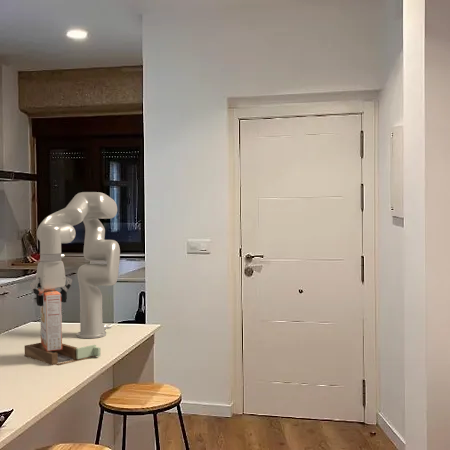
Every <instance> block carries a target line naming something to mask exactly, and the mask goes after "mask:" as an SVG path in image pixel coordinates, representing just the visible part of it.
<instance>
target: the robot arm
mask: <svg viewBox="0 0 450 450" xmlns="http://www.w3.org/2000/svg"><path fill="white" fill-rule="evenodd" d="M117 214H118V205H117V203H116V201H115V200H114V199H113V198H112V197H110V196H109V195H107V194H106V193H103V192H99V191H98V192H97V191H82V192H78V193H77V194H75V195H74V197H72V199H71V200H70V201H69V202H68V204H67V205H66V206H65V207H64V208H62V209H59V210H58V211H55V212H53V213H51V214H49V215H47V216H46V217H44V219H43V220H42V221H41V222H40V224H39V225H38V228H37V231H36V238H37V239H38V241H39V253H40V254H39V255H40V257H39V259H40V260H39V261H40V262H37V268H36V274H35V275H36V277H35V280H33V281H32V282H31V283H29V287H30V289H31V292H33V293H34V295H35V297H36V301H35V302H36V305H37V306H39V307H40V306H43V295H42V293H43V292H44V290H48V289H55V290H56V289H60V291H59V293H60V294H61V303H67V299H68V298H67V297H68V294H67V293H68V291H69V289H70V287H71V285H72V283H73V279H72V278H71V277H68V276H66V270H65V264H64V262H63V261H62V259H63V258H65V254H64V253H62V244H69V243H72V242H73V241H74V239H75V238H76V235H77V234H76V229H75V227H74V226H76V225H79V224H80V223H83V224H84V228H85V233H84V242H83V244H84V245H83V257H84V259H85V260H86V261H89V262H91V261H92V262H106V263H85V264H82V265H80V266H79V267H78V269H77V281H78V287H79V308H80V309H79V320H80V321H79V323H80V326H79V327H80V328H79V329H80V331H78V332H77V333H76V337H77V338H81V339H97V338H103V337H105V336H106V335H107V332H106V330H109V329H112V324H111V323H108V324H104V323H103V294H102V291H101V289H100V288H99V287H101V286H103V287H104V286H105V287H111V286H115V285H116V284H117V281H118V279H119V278H118V277H119V271H120V269H119V268H120V258H121V249H120V245H119V243H118V241H116V240H115V239H106V238H105V236H106V229H105V226H104V225H103V223H102V222H101V221H100V219H104V220H107V219H113V218H115V217H116V215H117ZM98 286H99V287H98Z"/></svg>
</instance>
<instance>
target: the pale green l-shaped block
mask: <svg viewBox="0 0 450 450" xmlns="http://www.w3.org/2000/svg"><path fill="white" fill-rule="evenodd" d="M90 356H97V358H100V357H101V347H99V346H97V344H90V345H86V346H81V347H77V348H76V359H81V358H85V357H90Z"/></svg>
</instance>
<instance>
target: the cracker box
mask: <svg viewBox="0 0 450 450" xmlns="http://www.w3.org/2000/svg"><path fill="white" fill-rule="evenodd" d="M42 295H43V306H39V307H40V313H39V314H40V343H41V344H42V345H43V346H44V348H45V349H46V351H55V350H62V344H63V325H62V324H63V321H62V318H63V315H62V302H61V294H60V291H58V290H57V289H56V288H55V289H48V290H44V292H43V293H42Z"/></svg>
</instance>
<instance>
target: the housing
mask: <svg viewBox="0 0 450 450" xmlns="http://www.w3.org/2000/svg"><path fill="white" fill-rule="evenodd" d="M76 348H78V346H77V347H76V346H73V345H69V344H66V343H62V350H55V351H46V349H45V348H44V346H43V345H42V344H41V342H36V343H31V344H25V345H24V357H27V358H29V359H33V360H34V361H38V362H42V363H45V364H47V365H50V366H54V365H57V366H61V365H65V364H70V363H74V362H79V361H84V360H87V359H92V358H96V357H97V356H90V357H85V358H81V359H76ZM97 358H98V357H97Z"/></svg>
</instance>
